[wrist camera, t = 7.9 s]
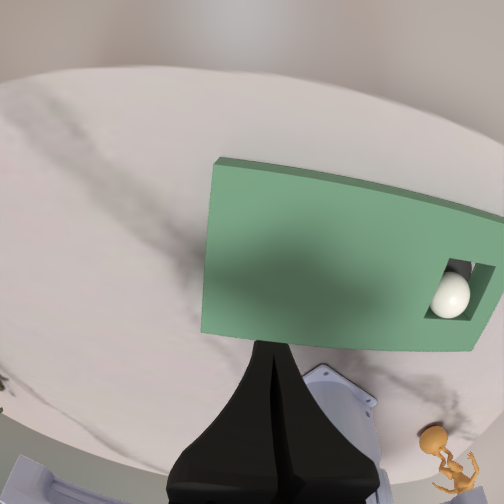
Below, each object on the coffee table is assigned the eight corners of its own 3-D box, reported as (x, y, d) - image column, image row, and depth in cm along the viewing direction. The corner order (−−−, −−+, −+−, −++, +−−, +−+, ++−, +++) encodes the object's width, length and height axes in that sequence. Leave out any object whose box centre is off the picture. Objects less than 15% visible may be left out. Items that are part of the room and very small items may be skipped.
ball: (461, 291, 23) (477, 317, 20) (424, 305, 24) (437, 334, 21) (457, 256, 21) (476, 281, 18) (418, 272, 22) (433, 299, 19)
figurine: (434, 411, 31) (462, 489, 20) (466, 408, 31) (495, 478, 20) (403, 445, 34) (420, 516, 24) (435, 442, 35) (454, 507, 24)
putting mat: (510, 220, 20) (527, 231, 18) (460, 334, 25) (471, 351, 23) (219, 157, 20) (213, 164, 17) (206, 312, 25) (200, 332, 23)
